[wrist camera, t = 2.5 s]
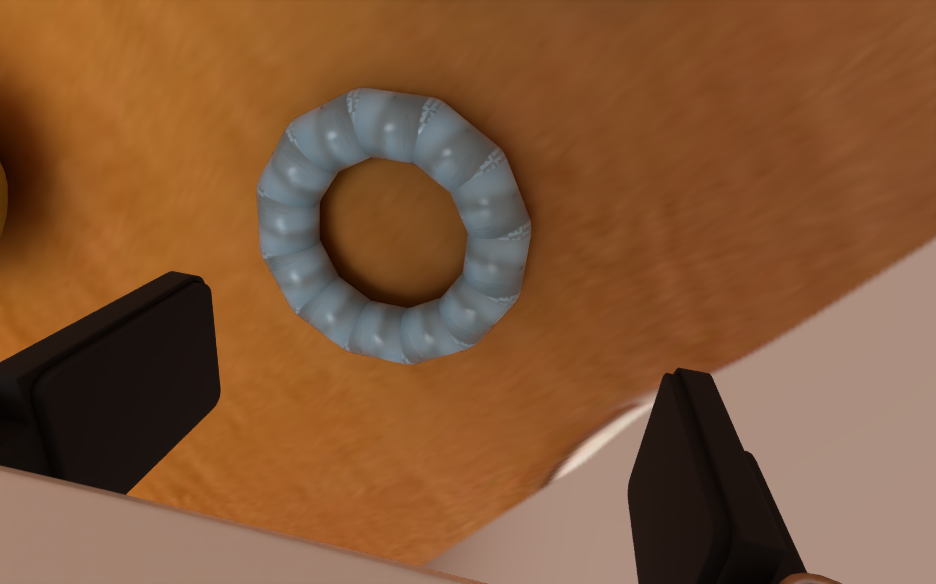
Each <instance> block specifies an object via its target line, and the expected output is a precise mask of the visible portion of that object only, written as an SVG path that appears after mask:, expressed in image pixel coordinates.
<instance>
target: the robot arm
mask: <svg viewBox="0 0 936 584" xmlns="http://www.w3.org/2000/svg"><path fill="white" fill-rule="evenodd" d="M220 390H221V389H220V379H219V368H218V358H217V347H216V337H215V326H214V316H213V306H212V295H211V289H210V287H209V286H208V285H206V284H205V282H204V280H203V279H202V278H201V277H200V276H195V275H190V274H185V273H180V272H174V271H171V272H168V273H166V274H164V275H162V276H160V277H158V278H157V279H155V280H153V281H151V282H149V283H147V284H145V285H144V286H142V287H140V288H138V289H136V290H134V291H132V292H130V293H129V294H127V295H125V296H123V297H121V298H119V299H117V300H116V301H114V302H112V303H110V304H108V305H106V306H104V307H103V308H101V309H99V310H97V311H95V312H93V313H91V314H89V315H88V316H86V317H84V318H82V319H80V320H78V321H76V322H75V323H73V324H71V325H69V326H67V327H65V328H63V329H61V330H60V331H58V332H56V333H54V334H52V335H50V336H48V337H47V338H45V339H43V340H41V341H39V342H37V343H35V344H34V345H32V346H30V347H28V348H26V349H24V350H22V351H20V352H19V353H17V354H15V355H13V356H11V357H9V358H7V359H6V360H4V361H2V362H0V584H486V583H483V582H479V581H474V580H471V579H466V578H462V577H458V576H455V575H450V574H446V573H443V572H439V571H434V570H431V569H427V568H423V567H419V566H415V565H411V564H407V563H403V562H399V561H395V560H391V559H387V558H383V557H379V556H375V555H371V554H367V553H363V552H359V551H355V550H351V549H346V548H342V547H338V546H334V545H330V544H326V543H322V542H318V541H314V540H310V539H306V538H302V537H298V536H293V535H289V534H285V533H281V532H277V531H273V530H269V529H265V528H261V527H257V526H253V525H248V524H244V523H240V522H236V521H232V520H228V519H224V518H220V517H215V516H211V515H207V514H203V513H199V512H195V511H191V510H187V509H183V508H178V507H174V506H170V505H166V504H161V503H157V502H153V501H149V500H145V499H140V498H136V497H132V496H128V495H126V494H127V493H128V492H129V491H130V490H131V489H132V488H133V487H134V486H135V485H136V484H137V483H138V482H139V481H140V480H141V479H142V478H143V477H144V476H145V475H146V474H147V473H148V472H149V471H150V470H151V469H152V468H153V467H154V466H155V465H156V464H157V463H158V462H159V461H160V460H161V459H162V458H163V457H165V456H166V455H167V454H168V453H169V452H170V451H171V450H172V449H173V448H174V447H175V446H176V445H177V444H178V443H179V442H180V441H181V440H182V439H183V438H184V437H185V436H186V435H187V434H188V433H189V432H190V431H191V430H192V429H193V428H194V427H195V426H196V425H197V424H198V423H199V422H200V421H201V420H202V419H203V418H204V417H205V416H206V415H207V414H208V413H209V412H210V411H211V410H212V409H213V408H214V407H215V406H216V404H217V402H218V400H219V398H220ZM628 504H629V512H630V519H631V527H632V536H633V543H634V551H635V559H636V567H637V575H638V583H639V584H841V583H840V582H837V581H834V580H832V579H829V578H827V577H824V576H821V575H815V574H809V573H807V571H806V569H805V567H804V565H803V562H802V560H801V558H800V556H799V554H798V551H797V549H796V547H795V545H794V543H793V541H792V538H791V536H790V534H789V532H788V530H787V527H786V525H785V523H784V521H783V519H782V516H781V514H780V512H779V510H778V508H777V505H776V503H775V501H774V499H773V497H772V494H771V492H770V490H769V488H768V486H767V483H766V481H765V479H764V477H763V475H762V472H761V470H760V468H759V466H758V464H757V461H756V460H755V458H754V457H753V455H752V454H751V453H749V452H748V451H744V449H743V447H742V445H741V442H740V440H739V438H738V435H737V433H736V431H735V428H734V426H733V424H732V421H731V419H730V417H729V415H728V412H727V410H726V408H725V405H724V403H723V401H722V399H721V396H720V394H719V392H718V390H717V387H716V385H715V383H714V380H713V378H712V376H711V375H710V374H709V373H704V372H699V371H694V370H688V369H683V368H677V369H676V371H675V372H674V374H669V373H666V374H665V375H664V376H663V378H662V381H661V384H660V387H659V390H658V393H657V396H656V399H655V403H654V406H653V409H652V412H651V415H650V418H649V421H648V424H647V427H646V430H645V433H644V436H643V439H642V442H641V446H640V449H639V452H638V455H637V458H636V461H635V464H634V467H633V470H632V473H631V477H630V480H629V485H628Z"/></svg>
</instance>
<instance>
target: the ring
mask: <svg viewBox="0 0 936 584" xmlns="http://www.w3.org/2000/svg"><path fill="white" fill-rule="evenodd" d="M371 157H375V158H381V159H387V160H393V161H400V162H406V163H412V164H415V165H416V166H417V167H419V168H420V169H421V170H422V171H424V172H425V173H426V174H427V175H429V176H430V177H431V178H432V179H434V180H435V181H436V182H437V183H439V184H440V185H441V186H442V187H444V188H445V189H446V190H447V191H449V192H450V193H451V196H452V198H453V200H454V203H455V205H456V207H457V210H458V212H459V214H460V217H461V219H462V221H463V224H464V226H465V228H466V231H467V233H468V235H467V244H466V252H465V260H464V268H463V272H462V273H461V275H460V276H459V277H458V278H457V279H456V281H455V282H454V283H453V284H452V285H451V287H450V288H449V289H448V290H447V291H446V293H445V294H444V295H443V296H442V297H441V298H438V299H435V300H432V301H429V302H426V303H423V304H420V305H417V306H413V307H410V308H406V307H401V306H396V305H391V304H386V303H381V302H376V301H371V300H370V299H368V298H367V297H366V296H364V295H363V294H362V293H360V292H359V291H358V290H357V289H355V288H354V287H353V286H351V285H350V284H349V283H347V282H346V281H345V280H343V279H342V278H341V277H339V276H338V274H337V272H336V270H335V268H334V266H333V264H332V262H331V260H330V258H329V256H328V255H327V253H326V251H325V249H324V247H323V245H322V243H321V241H320V201H321V199H322V197H323V196H324V194H325V193H326V191H327V189H328V188H329V186H330V184H331V183H332V181H333V180H334V178H335V176H336V175H337V173H338V172H339V171H341V170H343V169H346V168H348V167H350V166H353V165H355V164H357V163H359V162H362V161H364V160H366V159H369V158H371ZM257 208H258V227H259V245H260V252H261V255H262V257H263V260H264V261H265V263H266V265H267V267H268V268H269V270H270V272H271V274H272V275H273V277H274V279H275V281H276V283H277V284H278V286H279V288H280V290H281V291H282V293H283V295H284V297H285V298H286V300H287V302H288V304H289V305H290V307H291V309H292V310H293V311H294V312H295V313H296V314H297V315H298V316H299V317H300V318H302V319H303V320H304V321H306V322H307V323H308V324H310V325H311V326H312V327H314V328H315V329H317V330H318V331H319V332H321V333H322V334H323V335H325V336H326V337H327V338H329V339H330V340H331V341H333V342H334V343H335V344H337V345H338V346H340V347H341V348H342V349H344V350H346V351H348V352H351V353H354V354H359V355H364V356H369V357H373V358H378V359H383V360H387V361H392V362H397V363H402V364H408V365H411V364H418V363H421V362H425V361H428V360H432V359H435V358H439V357H443V356H446V355H450V354H453V353H457V352H460V351H464V350H467V349H470V348H472V347H474V346H475V345H476V344H477V343H478V342H479V341H480V340H481V339H482V338H483V337H484V336H485V335H486V334H487V333H488V332H489V331H490V330H491V329H492V327H493V326H494V325H495V324H496V323H497V322H498V321H499V320H500V319H501V318H502V317H503V316H504V314H505V313H506V312H507V311H508V310H509V309H510V308H511V307H512V306H513V305H514V304H515V302H516V301H517V300H518V298H519V296H520V293H521V289H522V283H523V278H524V272H525V266H526V261H527V255H528V249H529V244H530V238H531V231H532V227H531V220H530V217H529V214H528V212H527V209H526V207H525V204H524V201H523V199H522V196H521V194H520V191H519V188H518V186H517V183H516V181H515V178H514V175H513V173H512V170H511V168H510V165H509V162H508V160H507V158H506V155H505V154H504V152H503V151H502V150H501V148H500V147H498V146H497V145H496V144H495V143H494V142H493V141H491V140H490V139H489V138H488V137H486V136H485V135H484V134H483V133H482V132H480V131H479V130H478V129H477V128H475V127H474V126H473V125H472V124H471V123H469V122H468V121H467V120H466V119H464V118H463V117H462V116H461V115H460V114H458V113H457V112H456V111H455V110H453V109H452V108H451V107H450V106H449V105H447V104H446V103H445V102H443V101H441V100H439V99H437V98H433V97H428V96H421V95H414V94H407V93H400V92H394V91H387V90H380V89H373V88H357V89H354V90H351V91H349V92H347V93H345V94H343V95H341V96H339V97H337V98H335V99H333V100H330V101H328V102H326V103H324V104H322V105H320V106H318V107H316V108H314V109H312V110H310V111H308V112H306V113H304V114H302V115H300V116H298V117H297V118H295V119H294V120H292V121H291V122H290V124H289V125H288V126H287V128H286V129H285V131H284V133H283V135H282V137H281V139H280V140H279V142H278V144H277V146H276V148H275V150H274V152H273V153H272V155H271V157H270V159H269V161H268V163H267V165H266V166H265V168H264V170H263V172H262V174H261V176H260V178H259V180H258V184H257Z"/></svg>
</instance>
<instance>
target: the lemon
mask: <svg viewBox="0 0 936 584" xmlns="http://www.w3.org/2000/svg"><path fill="white" fill-rule="evenodd" d="M7 212H8V183H7V179H6V175H5V172H4V169H3V167H2V164H1V162H0V238H1V235H2V231H3V228H4V224H5V220H6V216H7Z"/></svg>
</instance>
